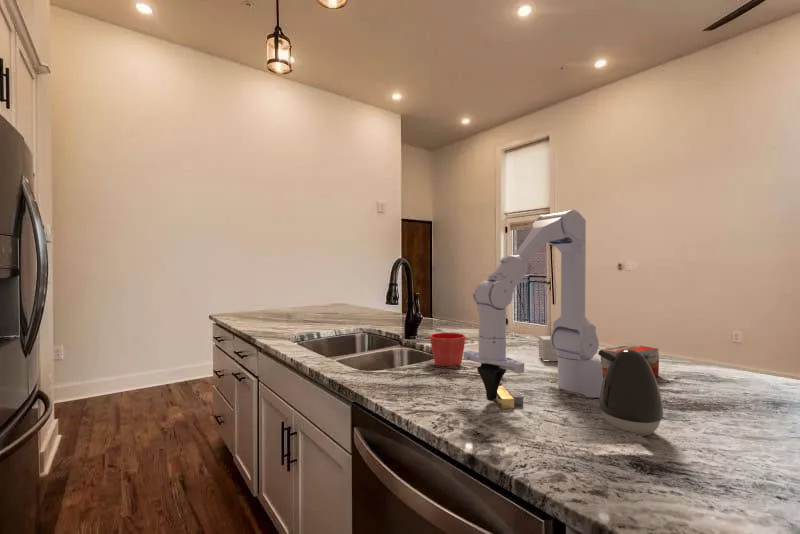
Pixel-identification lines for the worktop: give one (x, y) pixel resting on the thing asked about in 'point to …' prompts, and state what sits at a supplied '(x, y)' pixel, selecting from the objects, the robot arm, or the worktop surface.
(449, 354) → the flower pot
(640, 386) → the pump dispenser
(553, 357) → the product box
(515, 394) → the block
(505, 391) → the latch arm
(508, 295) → the robot arm
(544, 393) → the worktop surface
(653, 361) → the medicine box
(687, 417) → the worktop surface
